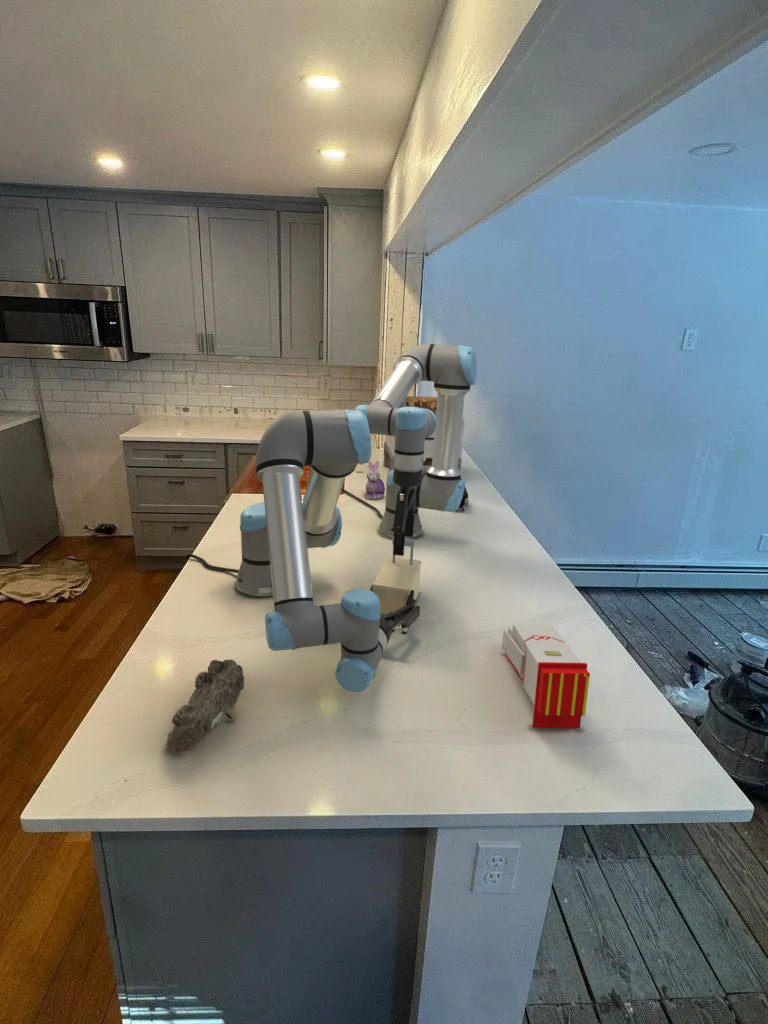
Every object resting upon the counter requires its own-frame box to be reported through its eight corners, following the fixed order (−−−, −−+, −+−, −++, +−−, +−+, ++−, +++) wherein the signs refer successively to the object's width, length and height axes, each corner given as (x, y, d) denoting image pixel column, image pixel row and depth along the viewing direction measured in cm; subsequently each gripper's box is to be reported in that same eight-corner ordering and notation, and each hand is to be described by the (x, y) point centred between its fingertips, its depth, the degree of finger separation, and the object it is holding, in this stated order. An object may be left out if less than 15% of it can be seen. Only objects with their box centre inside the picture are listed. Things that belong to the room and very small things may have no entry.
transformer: (382, 463, 289) (386, 382, 275) (445, 464, 293) (451, 384, 279) (390, 482, 257) (394, 392, 243) (460, 483, 261) (468, 394, 247)
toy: (548, 608, 134) (599, 669, 104) (543, 661, 136) (591, 735, 107) (497, 607, 133) (533, 668, 104) (493, 660, 136) (527, 734, 107)
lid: (388, 558, 159) (389, 532, 156) (421, 563, 157) (423, 536, 154) (372, 587, 142) (373, 557, 139) (409, 592, 140) (411, 562, 137)
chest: (386, 588, 161) (387, 559, 158) (418, 592, 159) (420, 564, 156) (371, 618, 145) (372, 587, 142) (407, 623, 143) (409, 592, 140)
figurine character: (468, 516, 224) (463, 500, 237) (471, 498, 221) (465, 483, 234) (452, 515, 224) (447, 499, 237) (453, 498, 220) (449, 482, 234)
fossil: (192, 660, 117) (244, 628, 112) (224, 691, 120) (276, 661, 115) (142, 746, 98) (202, 712, 93) (182, 779, 101) (242, 748, 96)
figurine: (370, 501, 232) (371, 465, 226) (359, 493, 240) (360, 459, 235) (390, 498, 236) (392, 463, 231) (379, 491, 244) (380, 457, 239)
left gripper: (323, 644, 128) (351, 598, 148) (419, 661, 123) (434, 611, 144) (323, 615, 125) (351, 572, 146) (421, 631, 121) (436, 585, 141)
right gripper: (413, 483, 133) (408, 565, 140) (429, 459, 156) (424, 530, 163) (382, 479, 135) (379, 561, 142) (403, 456, 158) (399, 527, 165)
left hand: (392, 592), depth 145 cm, fingers closed on chest, 9 cm apart
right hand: (403, 545), depth 152 cm, fingers open, 13 cm apart
